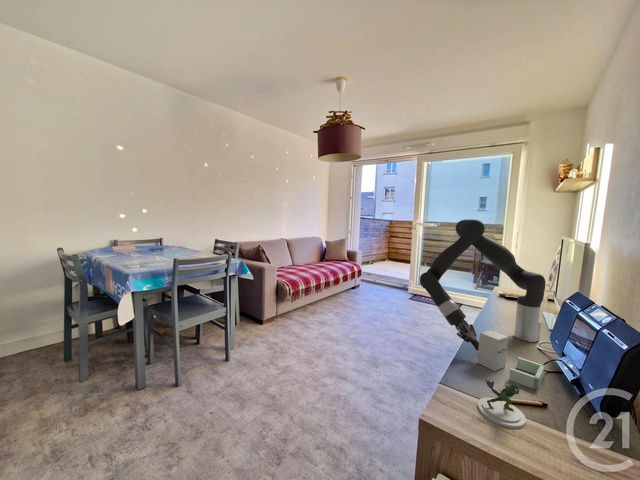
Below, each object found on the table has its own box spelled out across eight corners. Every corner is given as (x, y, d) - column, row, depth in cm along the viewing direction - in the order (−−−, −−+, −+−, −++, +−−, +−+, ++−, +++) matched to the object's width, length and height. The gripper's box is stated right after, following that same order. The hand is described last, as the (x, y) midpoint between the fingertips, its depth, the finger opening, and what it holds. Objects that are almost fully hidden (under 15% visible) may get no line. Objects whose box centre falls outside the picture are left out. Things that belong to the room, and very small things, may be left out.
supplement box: (495, 371, 105) (497, 339, 104) (476, 362, 111) (478, 332, 110) (506, 367, 108) (509, 336, 107) (487, 358, 115) (489, 329, 114)
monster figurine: (523, 435, 74) (527, 399, 73) (473, 413, 82) (476, 380, 81) (527, 412, 83) (530, 380, 82) (481, 395, 91) (484, 365, 90)
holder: (509, 379, 100) (510, 369, 100) (517, 366, 109) (518, 357, 109) (537, 390, 94) (538, 379, 94) (543, 375, 103) (544, 365, 103)
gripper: (452, 310, 114) (482, 350, 106) (464, 304, 123) (492, 340, 115) (438, 319, 118) (466, 358, 110) (450, 313, 127) (477, 348, 119)
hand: (479, 349), depth 113 cm, fingers closed
